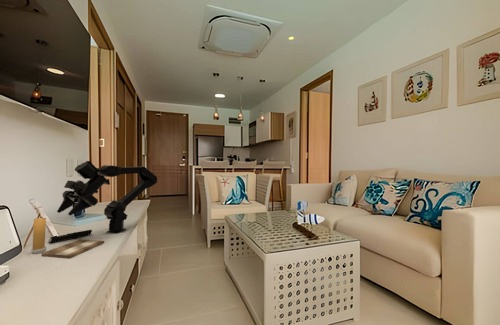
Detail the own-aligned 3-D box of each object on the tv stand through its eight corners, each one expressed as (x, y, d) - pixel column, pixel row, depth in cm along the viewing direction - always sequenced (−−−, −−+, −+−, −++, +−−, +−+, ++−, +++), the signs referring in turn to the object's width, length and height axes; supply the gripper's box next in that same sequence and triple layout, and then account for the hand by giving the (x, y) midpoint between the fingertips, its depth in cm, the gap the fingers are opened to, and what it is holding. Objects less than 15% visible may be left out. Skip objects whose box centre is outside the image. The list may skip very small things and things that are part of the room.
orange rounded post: (39, 249, 86) (41, 217, 87) (48, 250, 86) (49, 217, 86) (28, 253, 82) (29, 219, 83) (37, 254, 82) (38, 220, 82)
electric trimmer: (92, 236, 104) (93, 230, 105) (49, 244, 92) (50, 237, 92) (90, 234, 107) (90, 228, 107) (48, 242, 95) (48, 235, 95)
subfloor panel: (80, 241, 96) (80, 238, 96) (104, 243, 95) (104, 240, 95) (41, 256, 81) (41, 253, 81) (69, 258, 79) (69, 255, 79)
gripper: (68, 173, 100) (35, 199, 90) (91, 174, 92) (58, 204, 82) (86, 188, 107) (58, 215, 97) (109, 191, 99) (81, 220, 89)
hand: (63, 213), depth 91 cm, fingers open, 9 cm apart
